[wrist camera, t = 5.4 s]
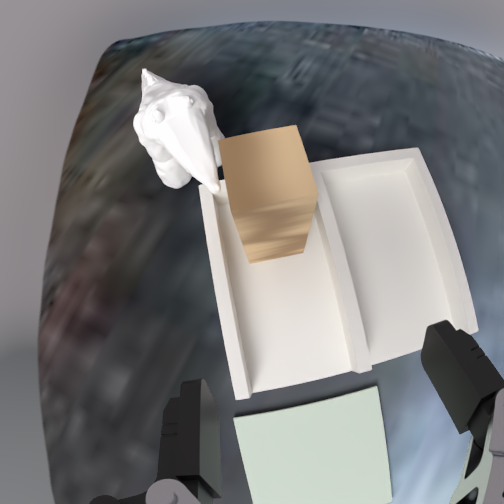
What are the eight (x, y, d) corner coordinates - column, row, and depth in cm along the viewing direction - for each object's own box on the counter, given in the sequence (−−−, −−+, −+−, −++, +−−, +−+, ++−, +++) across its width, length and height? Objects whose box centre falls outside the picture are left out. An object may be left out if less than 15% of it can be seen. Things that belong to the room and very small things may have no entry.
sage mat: (375, 385, 24) (377, 386, 24) (391, 499, 21) (392, 501, 20) (234, 417, 24) (233, 418, 24) (261, 529, 21) (260, 531, 20)
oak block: (290, 203, 28) (296, 124, 17) (303, 252, 27) (318, 193, 16) (239, 214, 28) (217, 140, 17) (249, 264, 27) (230, 211, 16)
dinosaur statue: (202, 260, 27) (150, 191, 17) (130, 105, 36) (94, 40, 26) (273, 221, 28) (259, 134, 18) (177, 80, 37) (151, 12, 26)
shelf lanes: (406, 166, 29) (418, 147, 26) (458, 333, 24) (478, 330, 21) (207, 202, 30) (198, 185, 26) (241, 393, 25) (235, 400, 21)
